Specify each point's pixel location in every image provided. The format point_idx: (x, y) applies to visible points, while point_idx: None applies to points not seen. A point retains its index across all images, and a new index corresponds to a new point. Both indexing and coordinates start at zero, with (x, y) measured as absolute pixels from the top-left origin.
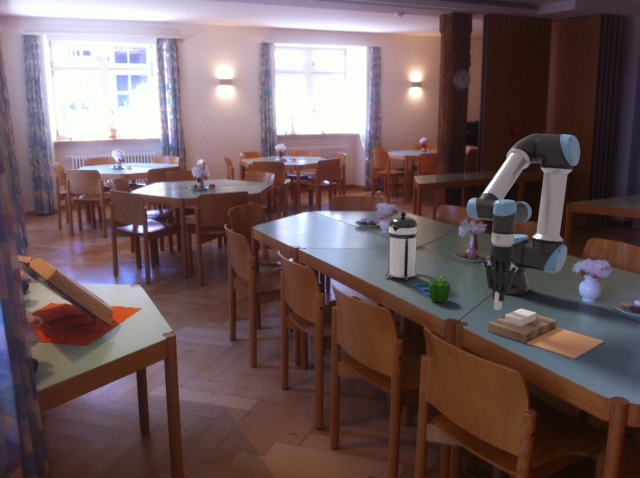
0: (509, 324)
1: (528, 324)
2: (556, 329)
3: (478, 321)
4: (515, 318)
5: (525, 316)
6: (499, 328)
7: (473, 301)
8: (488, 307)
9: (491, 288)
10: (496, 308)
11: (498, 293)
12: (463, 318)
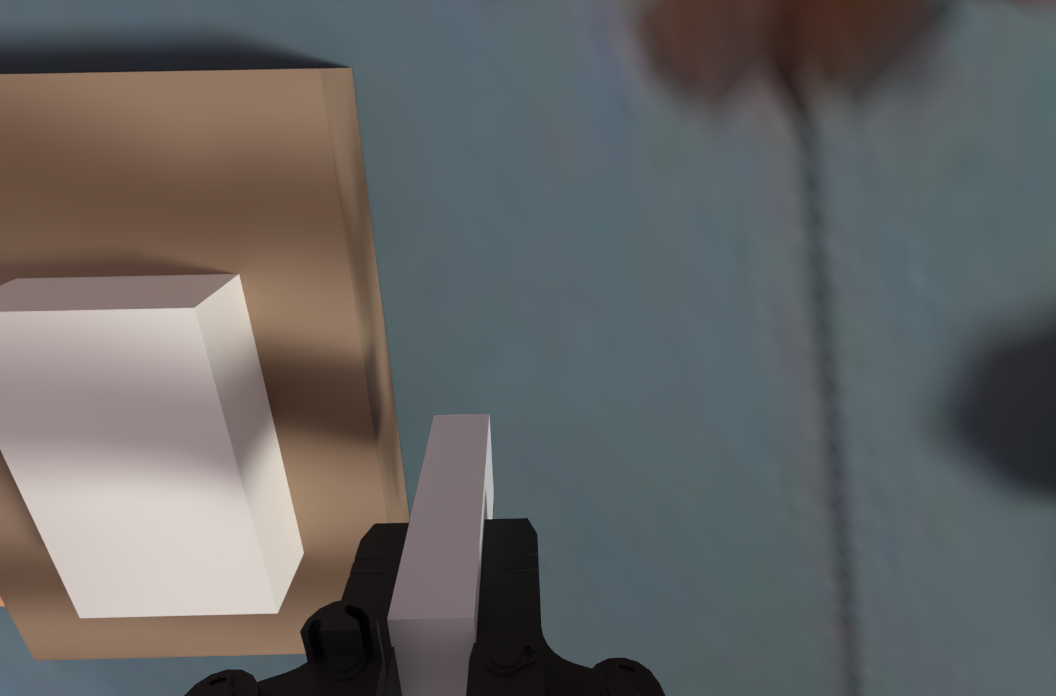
0: (133, 238)
1: None
2: None
3: (614, 249)
4: (29, 309)
5: (21, 449)
6: (156, 71)
7: (914, 618)
8: (741, 596)
9: (586, 675)
10: (445, 427)
11: (390, 607)
12: (788, 198)
